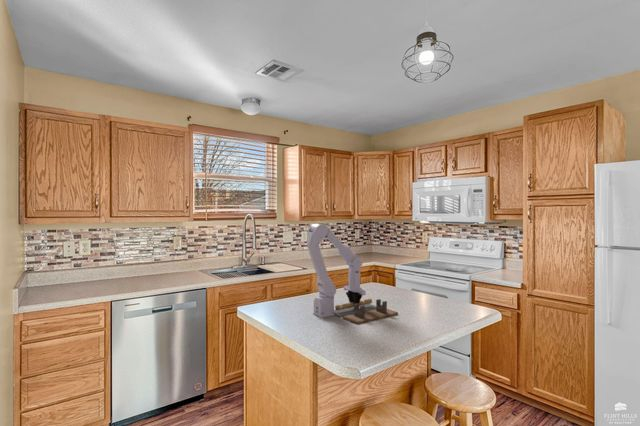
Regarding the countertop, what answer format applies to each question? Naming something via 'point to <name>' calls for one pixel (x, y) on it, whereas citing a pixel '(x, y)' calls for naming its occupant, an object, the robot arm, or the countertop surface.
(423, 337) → the countertop surface
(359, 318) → the hook stand
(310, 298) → the countertop surface
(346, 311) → the mat
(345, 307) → the rail
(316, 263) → the robot arm
